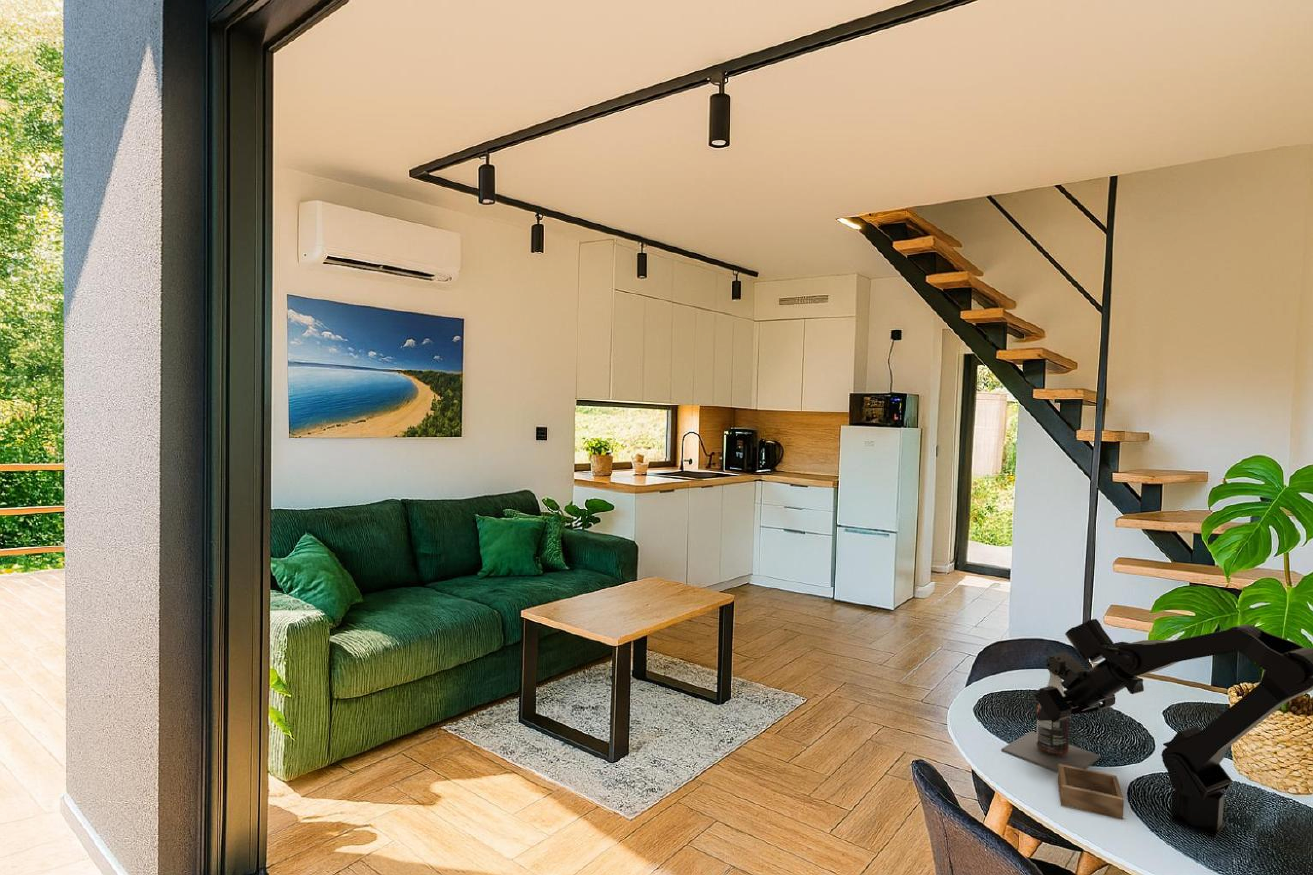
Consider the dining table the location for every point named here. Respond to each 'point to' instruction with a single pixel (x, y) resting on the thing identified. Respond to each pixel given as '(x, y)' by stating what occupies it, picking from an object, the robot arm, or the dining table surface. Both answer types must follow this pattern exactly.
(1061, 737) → the supplement bottle
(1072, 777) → the walnut box
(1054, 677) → the flask
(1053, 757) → the grey-brown square block
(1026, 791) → the dining table surface
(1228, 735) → the robot arm
